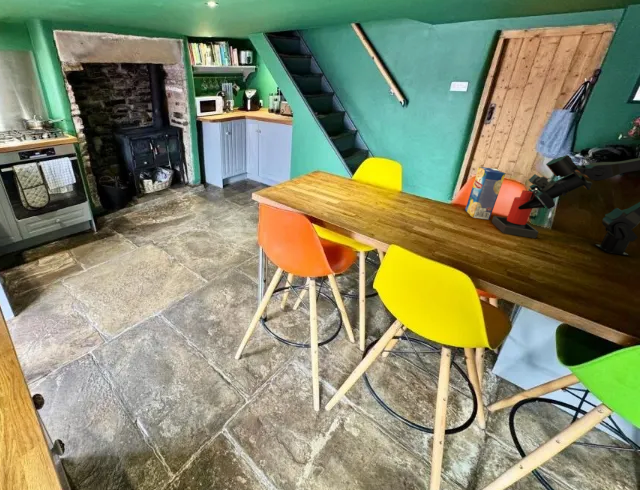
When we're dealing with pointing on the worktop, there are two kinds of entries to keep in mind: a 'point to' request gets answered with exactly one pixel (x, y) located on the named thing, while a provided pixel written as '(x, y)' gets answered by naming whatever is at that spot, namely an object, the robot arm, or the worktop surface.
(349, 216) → the worktop surface
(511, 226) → the tray
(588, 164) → the robot arm
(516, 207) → the ketchup bottle
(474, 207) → the cracker box
